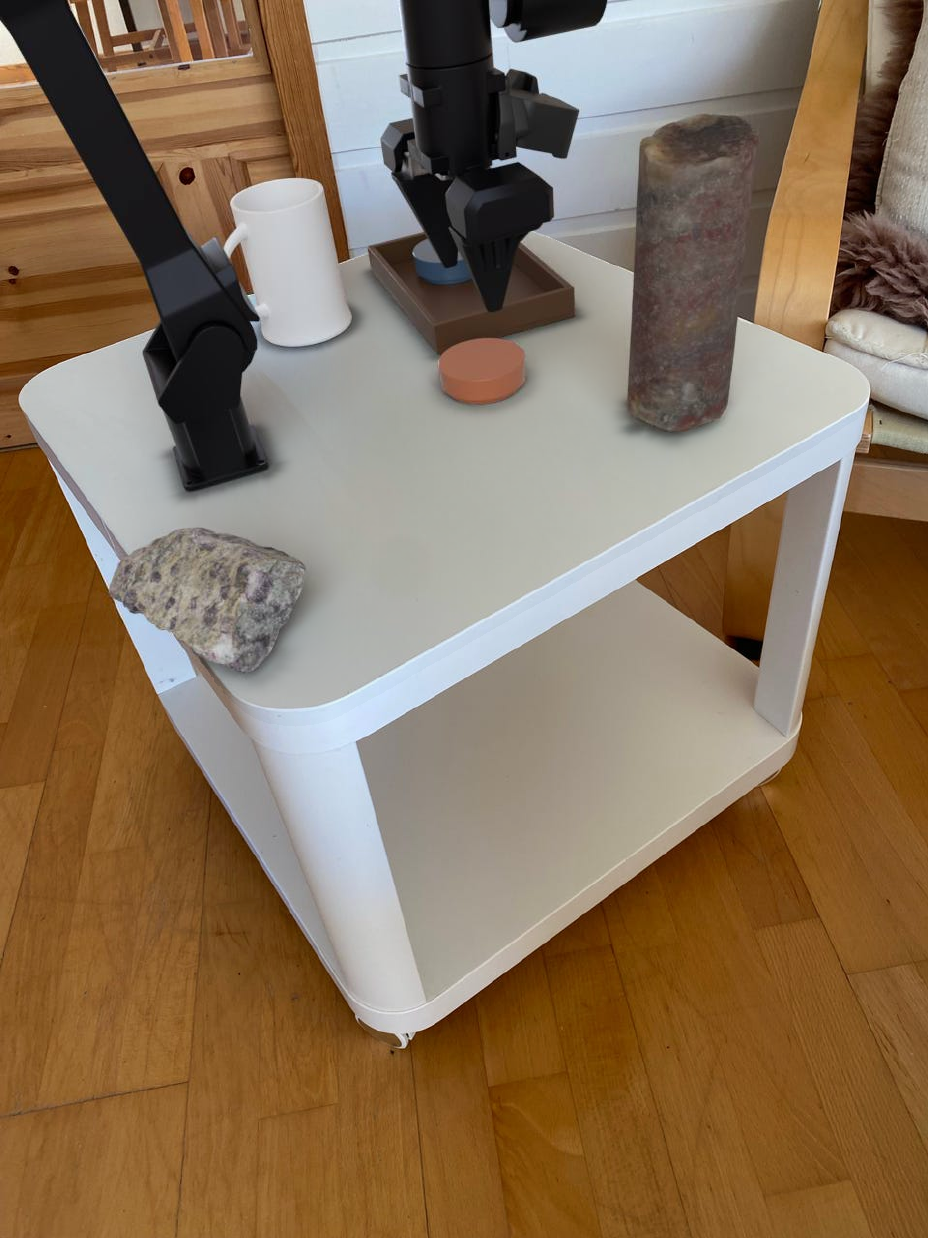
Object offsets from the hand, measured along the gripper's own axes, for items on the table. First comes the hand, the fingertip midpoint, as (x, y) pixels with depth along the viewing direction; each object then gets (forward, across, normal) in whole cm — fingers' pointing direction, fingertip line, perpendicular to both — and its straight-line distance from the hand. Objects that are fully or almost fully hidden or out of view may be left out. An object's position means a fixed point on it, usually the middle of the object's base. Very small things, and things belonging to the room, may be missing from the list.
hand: (471, 287), depth 72 cm
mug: (+8, +18, +12) cm, 23 cm away
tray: (+8, +17, -5) cm, 19 cm away
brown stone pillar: (+8, -12, -11) cm, 19 cm away
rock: (+7, -22, +29) cm, 37 cm away
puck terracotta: (+8, 0, 0) cm, 8 cm away
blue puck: (+8, +21, -5) cm, 23 cm away
